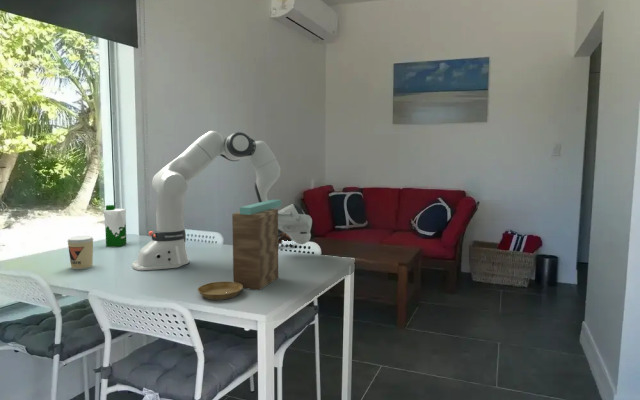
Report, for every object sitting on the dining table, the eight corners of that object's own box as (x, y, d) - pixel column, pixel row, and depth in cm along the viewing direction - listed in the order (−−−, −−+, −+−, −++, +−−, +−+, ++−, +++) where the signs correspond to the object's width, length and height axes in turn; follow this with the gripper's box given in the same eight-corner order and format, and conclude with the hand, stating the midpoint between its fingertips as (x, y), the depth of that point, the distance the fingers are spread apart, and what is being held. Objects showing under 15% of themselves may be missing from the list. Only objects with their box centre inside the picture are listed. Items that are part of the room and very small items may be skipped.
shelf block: (254, 275, 179) (253, 208, 176) (278, 277, 176) (277, 209, 173) (233, 286, 164) (232, 213, 161) (259, 289, 161) (258, 215, 158)
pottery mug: (293, 250, 226) (285, 236, 224) (276, 257, 228) (268, 244, 226) (295, 239, 238) (288, 225, 235) (279, 246, 239) (271, 233, 237)
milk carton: (111, 243, 237) (109, 204, 235) (129, 243, 237) (127, 204, 235) (103, 247, 228) (101, 206, 226) (121, 247, 228) (119, 206, 226)
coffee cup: (63, 268, 188) (61, 239, 187) (82, 263, 197) (81, 235, 196) (81, 270, 185) (79, 240, 184) (99, 265, 194) (98, 236, 192)
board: (272, 205, 185) (272, 199, 185) (281, 205, 184) (281, 199, 183) (239, 214, 160) (239, 207, 160) (250, 214, 159) (250, 207, 159)
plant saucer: (188, 298, 152) (188, 290, 152) (215, 286, 166) (215, 279, 165) (226, 304, 146) (225, 296, 146) (251, 291, 160) (251, 284, 160)
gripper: (271, 216, 205) (259, 204, 193) (315, 219, 199) (305, 206, 187) (268, 230, 203) (256, 218, 191) (313, 233, 196) (302, 221, 184)
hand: (281, 212), depth 189 cm, fingers open, 8 cm apart
